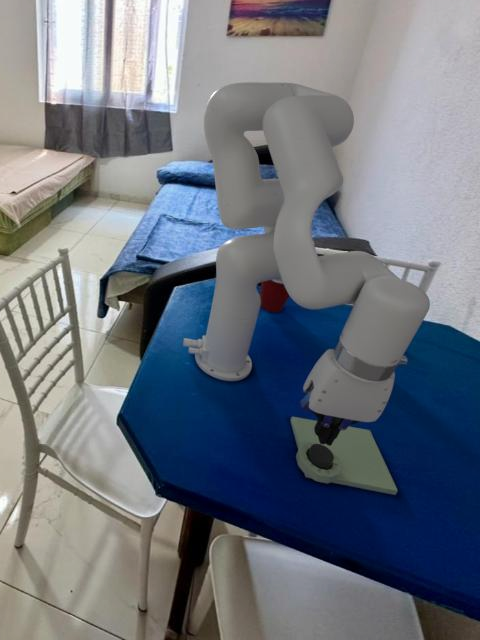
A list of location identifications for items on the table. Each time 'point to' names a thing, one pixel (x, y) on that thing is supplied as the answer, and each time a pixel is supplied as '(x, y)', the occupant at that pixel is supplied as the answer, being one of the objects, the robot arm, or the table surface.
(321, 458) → the button
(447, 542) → the table surface
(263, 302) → the plastic cup
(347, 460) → the scale
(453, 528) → the table surface
